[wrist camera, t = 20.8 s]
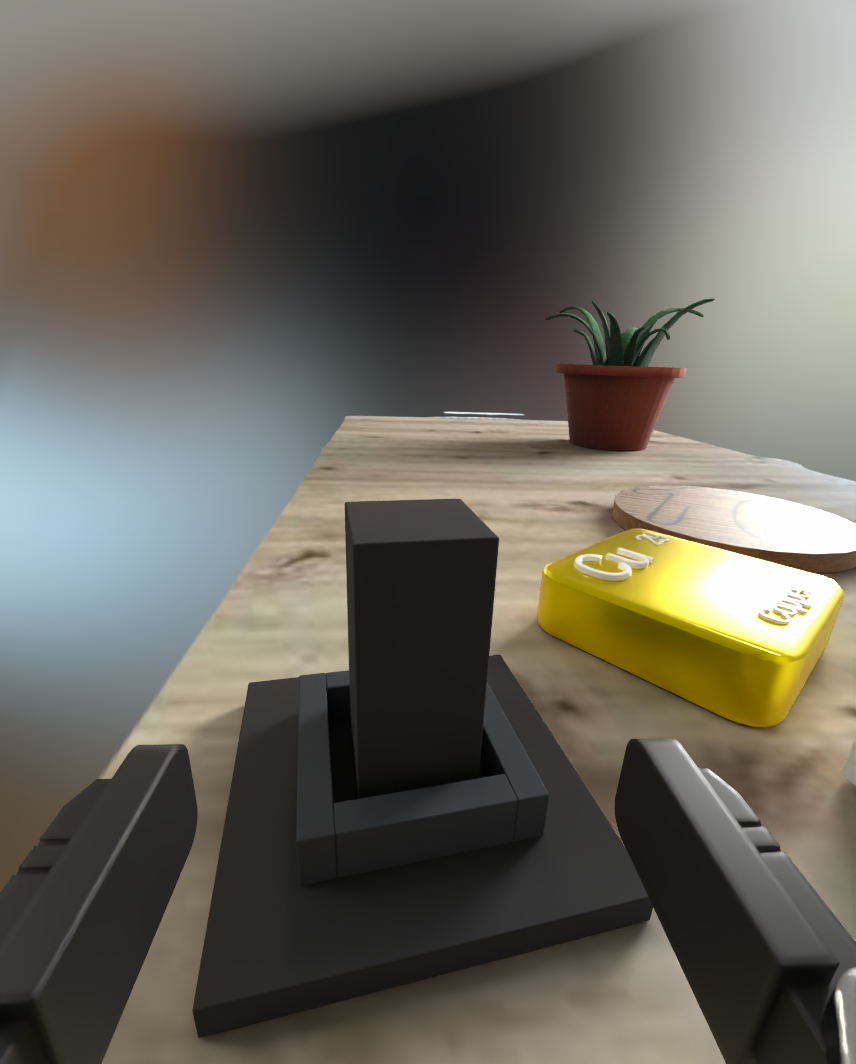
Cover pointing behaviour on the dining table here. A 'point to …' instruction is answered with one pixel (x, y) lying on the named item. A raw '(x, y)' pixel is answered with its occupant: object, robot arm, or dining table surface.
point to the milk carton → (850, 765)
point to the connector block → (417, 641)
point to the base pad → (395, 859)
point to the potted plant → (618, 383)
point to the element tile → (694, 620)
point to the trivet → (742, 525)
